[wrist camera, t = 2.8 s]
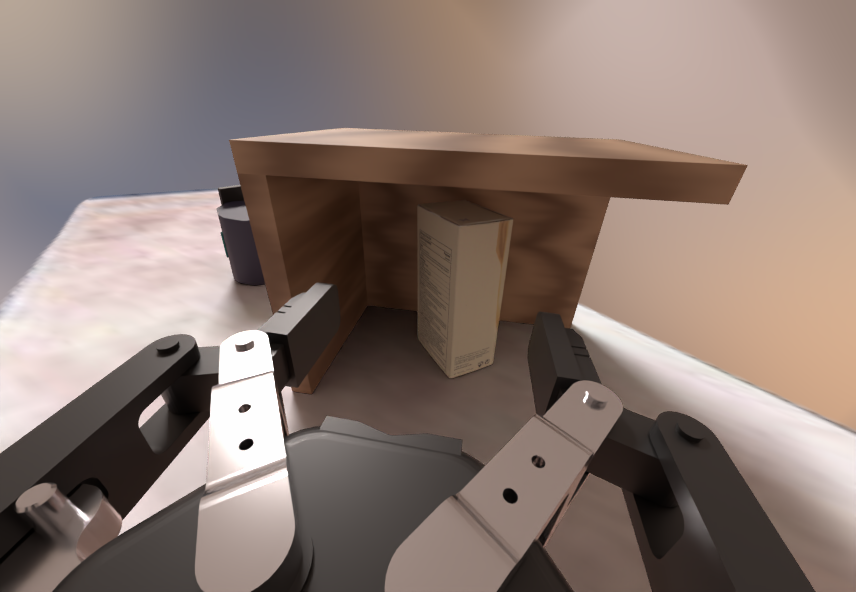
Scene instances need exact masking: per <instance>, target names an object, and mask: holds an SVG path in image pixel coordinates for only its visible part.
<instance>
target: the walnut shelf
mask: <svg viewBox="0 0 856 592" xmlns="http://www.w3.org/2000/svg"><path fill="white" fill-rule="evenodd" d="M229 141H230V145H231V149H232V153H233V157H234V161H235V165H236V169H237V173H238V177H239V181H240V185H241V189H242V193H243V197H244V201H245V205H246V209H247V213H248V217H249V221H250V225H251V229H252V233H253V237H254V241H255V245H256V249H257V253H258V257H259V261H260V265H261V269H262V273H263V277H264V281H265V285H266V289H267V292H268V296H269V300H270V304H271V308H272V312H273V315H274V314H275V313H276V312H278V310H279V309H280V308H281V307H284V305H285V304H286V303H287V302H288V301H289V300H290V299H291V298H293V297H295V296H297V295H299V294H301V293H303V292H304V293H306V292H307V291H308V290H309V289H310V288H311V287H312V286H313V285H314V284H315V283H317V282H319V283H327V284H334V285H336V286H337V288H338V295H339V306H340V316H341V320H340V326H339V329H338V331H337V333H336V334H335V335H334V337H333V338H332V340H331V341H330V343H329V344H328V345H327V347H326V348H325V350H324V351H323V353H322V354H321V355H320V357H319V358H318V360H317V361H316V363H315V364H314V365H313V367H312V368H311V370H310V371H309V373H308V374H307V376H306V377H305V378H304V380H303V381H302V383H301V384H300V386H299V387H298V388H295V387H291V388H292V391H294V392H301V393H307V394H312V393H313V391H314V390H315V388H316V387H317V385H318V383H319V382H320V380H321V379H322V377H323V376H324V374H325V372H326V371H327V369H328V368H329V366H330V364H331V363H332V361H333V360H334V358H335V357H336V355H337V353H338V352H339V350H340V349H341V347H342V345H343V344H344V342H345V341H346V339H347V337H348V336H349V334H350V333H351V331H352V330H353V328H354V326H355V325H356V323H357V322H358V320H359V318H360V317H361V315H362V314H363V312H364V310H365V309H366V307H367V306H368V305H369V306H378V307H386V308H395V309H404V310H413V311H418V257H417V251H418V239H417V206H418V204H424V203H435V202H446V201H461V200H466V201H469V202H471V203H474V204H477V205H479V206H482V207H485V208H487V209H490V210H493V211H495V212H498V213H501V214H503V215H506V216H508V217H511V218H513V226H512V232H511V240H510V247H509V254H508V261H507V268H506V276H505V282H504V289H503V297H502V304H501V310H500V317H499V320H500V321H509V322H518V323H527V324H534V323H535V319H536V316H537V313H538V312H539V311H540V312H548V313H556V314H560V316H561V319H562V321H563V324H564V327H565V328H571V324H572V321H573V318H574V314H575V311H576V308H577V305H578V301H579V298H580V295H581V291H582V288H583V285H584V281H585V278H586V275H587V272H588V269H589V265H590V262H591V259H592V256H593V252H594V249H595V246H596V242H597V239H598V236H599V233H600V229H601V226H602V223H603V220H604V216H605V213H606V210H607V207H608V203H609V200H610V197H618V198H633V199H649V200H664V201H680V202H696V203H711V204H712V203H713V204H727V205H728V204H729V202H730V200H731V198H732V196H733V194H734V192H735V190H736V188H737V186H738V184H739V182H740V180H741V178H742V176H743V173H744V172H745V170H746V168H747V165H744V164H739V163H734V162H729V161H723V160H719V159H714V158H708V157H704V156H699V155H694V154H689V153H683V152H678V151H674V150H669V149H664V148H659V147H654V146H649V145H644V144H639V143H634V142H629V141H625V140H617V139H616V140H615V139H593V138H568V137H546V136H521V135H497V134H474V133H450V132H426V131H403V130H402V131H401V130H379V129H355V128H340V129H330V130H321V131H310V132H300V133H291V134H281V135H272V136H261V137H251V138H242V139H232V140H229Z"/></svg>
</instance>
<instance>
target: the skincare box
mask: <svg viewBox="0 0 856 592" xmlns="http://www.w3.org/2000/svg"><path fill="white" fill-rule="evenodd" d="M512 226H513V218H511V217H508V216H506V215H503V214H501V213H498V212H495V211H493V210H490V209H487V208H485V207H482V206H479V205H477V204H474V203H471V202H469V201H466V200H461V201H446V202H435V203H424V204H418V206H417V239H418V251H417V257H418V339H419V341H420V342H421V343H422V345H423V346H424V348H425V349H426V350H427V351H428V353H429V354H430V355H431V357H432V358H433V359H434V360H435V362H436V363H437V364H438V365H439V367H440V368H441V369H442V370H443V371H444V373H445V374H446V375H447V376H448V377H449V378H454V377H457V376H460V375H463V374H466V373H470V372H472V371H475V370H478V369H481V368H484V367H486V366H489V365H492V364H493V360H494V353H495V346H496V339H497V332H498V325H499V317H500V310H501V304H502V297H503V289H504V282H505V276H506V268H507V261H508V254H509V247H510V240H511V232H512Z"/></svg>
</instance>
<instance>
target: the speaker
mask: <svg viewBox="0 0 856 592" xmlns="http://www.w3.org/2000/svg"><path fill="white" fill-rule="evenodd" d="M218 191H219V196H220V200H221V204H222V206H220V207H218V208H217V212H218V216H219V220H220V224H221V228H222V232H221V236H222V240H223V244H224V248H225V252H226V256H227V257H229V260H230V265H231V269H232V273H233V276H234V279H235V280H236V281H237V282H239V283H243V284H249V285H255V286H256V285H262V284H265V281H264V277H263V273H262V269H261V265H260V261H259V257H258V253H257V249H256V245H255V241H254V237H253V233H252V229H251V225H250V221H249V217H248V213H247V209H246V205H245V201H244V197H243V193H242V189H241V185H236V186H229V187H221V188H218Z"/></svg>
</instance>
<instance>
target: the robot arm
mask: <svg viewBox="0 0 856 592" xmlns="http://www.w3.org/2000/svg"><path fill="white" fill-rule="evenodd" d="M340 320H341V316H340V306H339V295H338V288H337V286H336V285H334V284H327V283H319V282H317V283H315V284H314V285H313V286H312V287H311V288H310V289H309V290H308V291H307V292H306V293H304V292H303V293H301V294H299V295H297V296H295V297H293V298H291V299H290V300H289V301H288V302H287V303H286V304H285V305H284V307H281V308H280V309H279V310H278V312H276V313H275V314H274V315H273V316H272V317H271V318H270V319H268V320H267V321H266V322H265V323H264V324H263V325H262V326H261V327H260V328H259V329H258V330H257V331H245V332H240V333H237V334H235V335H233V336H231V337H229V338H228V339H226V340H225V341H224V342H223V343H222V344H221V346H213V347H198V346H197V343H196V341H195V338H194V337H192V336H190V335H185V334H179V335H172V336H168V337H164V338H161V339H159V340H157V341H155V342H153V343H151V344H150V345H148V346H147V347H145V348H144V349H143V350H141V351H140V352H138V353H137V354H136V355H134V356H133V357H132V358H130V359H129V360H128V361H126V362H125V363H123V364H122V365H121V366H119V367H118V368H117V369H115V370H114V371H112V372H111V373H110V374H108V375H107V376H106V377H104V378H103V379H102V380H100V381H99V382H97V383H96V384H95V385H93V386H92V387H91V388H89V389H88V390H86V391H85V392H84V393H82V394H81V395H80V396H78V397H77V398H76V399H74V400H73V401H71V402H70V403H69V404H67V405H66V406H65V407H63V408H62V409H60V410H59V411H58V412H56V413H55V414H54V415H52V416H51V417H49V418H48V419H47V420H45V421H44V422H43V423H41V424H40V425H39V426H37V427H36V428H34V429H33V430H32V431H30V432H29V433H28V434H26V435H25V436H23V437H22V438H21V439H19V440H18V441H17V442H15V443H14V444H13V445H11V446H10V447H8V448H7V449H6V450H4V451H3V452H2V453H0V592H574V591H573V590H572V588H571V587H570V585H569V584H568V582H567V581H566V579H565V578H564V576H563V575H562V574H561V572H560V571H559V569H558V568H557V566H556V565H555V563H554V562H553V560H552V559H551V557H550V556H549V554H548V553H547V551H546V550H545V546H546V544H547V543H548V541H549V540H550V538H551V536H552V535H553V533H554V531H555V529H556V528H557V526H558V524H559V522H560V521H561V519H562V517H563V516H564V514H565V512H566V511H567V509H568V508H569V506H570V505H571V503H572V501H573V500H574V498H575V497H576V495H577V494H578V492H579V490H580V489H581V487H582V486H583V484H584V483H585V481H586V480H587V478H588V476H589V475H590V473H591V474H593V475H595V476H597V477H600V478H602V479H604V480H606V481H608V482H610V483H612V484H614V485H617V486H619V487H621V488H622V491H623V494H624V498H625V501H626V505H627V508H628V511H629V515H630V518H631V521H632V525H633V528H634V532H635V535H636V538H637V542H638V545H639V549H640V552H641V555H642V559H643V562H644V565H645V569H646V572H647V576H648V579H649V582H650V586H651V589H652V592H815V590H814V589H813V587H812V585H811V584H810V582H809V581H808V579H807V578H806V576H805V574H804V573H803V571H802V570H801V568H800V567H799V565H798V563H797V562H796V560H795V559H794V557H793V556H792V554H791V553H790V551H789V549H788V548H787V546H786V545H785V543H784V542H783V540H782V538H781V537H780V535H779V534H778V532H777V531H776V529H775V527H774V526H773V524H772V523H771V521H770V520H769V518H768V516H767V515H766V513H765V512H764V510H763V509H762V507H761V506H760V504H759V502H758V501H757V499H756V498H755V496H754V495H753V493H752V491H751V490H750V488H749V487H748V485H747V484H746V482H745V480H744V479H743V477H742V476H741V474H740V473H739V471H738V470H737V468H736V466H735V465H734V463H733V462H732V460H731V459H730V457H729V455H728V454H727V452H726V451H725V449H724V448H723V446H722V444H721V443H720V441H719V440H718V438H717V437H716V436H715V434H714V433H713V432H712V431H711V430H710V429H708V428H707V427H706V426H705V425H703V424H702V423H700V422H699V421H697V420H696V419H694V418H692V417H690V416H687V415H685V414H682V413H678V412H672V411H667V412H663V413H661V414H660V415H659V416H658V417H657V419H656V421H655V420H652V419H650V418H647V417H644V416H642V415H639V414H637V413H634V412H632V411H629V410H627V409H625V408H623V404H622V402H621V400H620V398H619V397H618V396H617V395H616V394H615V393H614V392H613V391H612V390H610V389H609V388H607V387H606V386H604V385H602V384H601V382H600V380H599V377H598V375H597V372H596V370H595V368H594V365H593V363H592V360H591V358H589V353H588V351H587V350H586V346H585V344H584V341H583V339H582V337H581V336H580V335H579V334H577V333H576V332H575V331H574V330H573V329H570V328H565V327H564V324H563V321H562V319H561V316H560V314H556V313H548V312H540V311H539V312H538V313H537V316H536V319H535V323H534V327H533V331H532V335H531V338H530V342H529V347H528V364H529V370H530V376H531V383H532V389H533V395H534V401H535V408H536V415H534V416H533V417H532V418H531V419H530V420H529V421H528V422H527V423H526V424H525V425H524V426H523V427H522V428H521V429H520V430H519V432H518V433H517V434H516V435H515V436H514V437H513V438H512V439H511V440H510V441H509V442H508V443H507V444H506V445H505V446H504V447H503V448H502V449H501V450H500V451H499V452H498V453H497V454H496V455H495V456H494V457H493V458H492V459H491V460H490V461H489V462H488V463H487V464H486V465H485V466H484V465H483V464H482V463H481V462H479V461H478V460H477V459H475V458H474V457H472V456H470V455H468V454H466V453H464V452H462V451H461V450H462V440H461V439H455V438H449V437H444V436H438V435H433V434H411V435H388V434H386V433H384V432H381V431H379V430H377V429H375V428H372V427H370V426H368V425H366V424H364V423H361V422H359V421H354V420H348V419H343V418H337V417H332V416H326V418H325V420H324V421H323V423H322V425H321V426H319V427H312V428H307V429H303V430H300V431H297V432H294V433H292V434H289V431H288V425H287V420H286V414H285V409H284V403H283V398H282V393H281V391H282V389H283V388H284V387H285V386H289V387H295V388H298V387H299V386H300V384H301V383H302V381H303V380H304V378H305V377H306V376H307V374H308V373H309V371H310V370H311V368H312V367H313V365H314V364H315V363H316V361H317V360H318V358H319V357H320V355H321V354H322V353H323V351H324V350H325V348H326V347H327V345H328V344H329V343H330V341H331V340H332V338H333V337H334V335H335V334H336V333H337V331H338V329H339V326H340ZM160 395H162V397H163V399H164V401H165V404H164V405H163V406H162V407H161V408H160V409H159V410H158V411H157V412H156V413H155V414H154V415H153V416H152V417H151V418H150V419H149V420H148V421H147V422H146V423H144V424H143V425H142V426H141V427H140V428H139V426H138V421H139V417H140V415H141V414H142V412H143V411H144V410H145V409H146V408H147V407H148V406H149V405H150V404H151V403H152V402H153V401H154V400H155V399H156V398H157V397H159V396H160ZM209 417H210V425H209V442H208V459H207V476H206V484H204V485H203V486H201V487H199V488H198V489H196V490H194V491H193V492H191V493H189V494H188V495H186V496H184V497H183V498H181V499H179V500H178V501H176V502H174V503H173V504H171V505H169V506H168V507H166V508H164V509H163V510H161V511H159V512H158V513H156V514H154V515H152V516H151V517H149V518H147V519H146V520H144V521H142V522H141V523H139V524H137V525H136V526H134V527H132V528H131V529H129V530H127V531H126V532H124V533H122V534H121V535H119V533H120V530H121V527H122V520H123V519H124V518H125V517H126V516H127V514H128V513H129V512H130V511H131V510H132V509H133V507H134V506H135V505H136V504H137V503H138V501H139V500H140V499H141V498H142V497H143V496H144V494H145V493H146V492H147V491H148V490H149V488H150V487H151V486H152V485H153V484H154V482H155V481H156V480H157V479H158V478H159V477H160V475H161V474H162V473H163V472H164V471H165V469H166V468H167V467H168V466H169V465H170V463H171V462H172V461H173V460H174V459H175V458H176V456H177V455H178V454H179V453H180V452H181V450H182V449H183V448H184V447H185V446H186V445H187V443H188V442H189V441H190V440H191V439H192V437H193V436H194V435H195V434H196V433H197V431H198V430H199V429H200V428H201V427H202V426H203V424H204V423H205V422H206V421H207V420H208V418H209ZM118 535H119V536H118Z"/></svg>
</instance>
